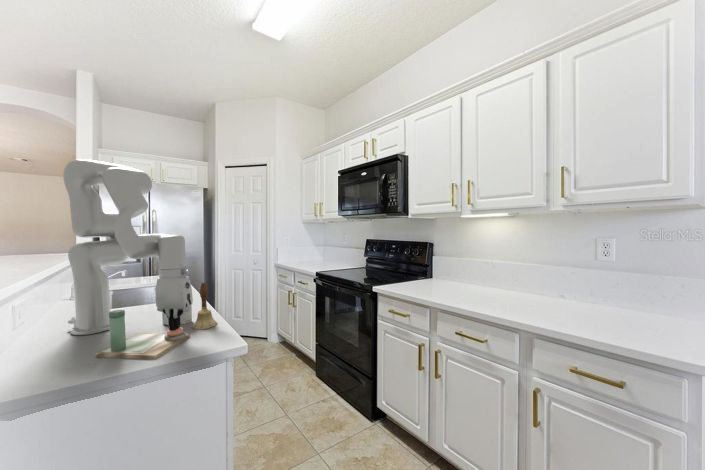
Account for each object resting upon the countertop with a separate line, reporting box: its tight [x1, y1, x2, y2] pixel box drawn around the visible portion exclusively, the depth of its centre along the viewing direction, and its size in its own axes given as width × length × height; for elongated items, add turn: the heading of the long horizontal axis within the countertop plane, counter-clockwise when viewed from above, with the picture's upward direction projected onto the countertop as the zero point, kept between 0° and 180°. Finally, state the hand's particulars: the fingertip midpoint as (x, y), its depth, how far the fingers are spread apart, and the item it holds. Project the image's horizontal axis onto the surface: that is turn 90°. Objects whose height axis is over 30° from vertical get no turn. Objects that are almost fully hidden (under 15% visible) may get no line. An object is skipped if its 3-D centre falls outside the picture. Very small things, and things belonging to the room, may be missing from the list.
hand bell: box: [192, 282, 218, 330], centre depth 113 cm, size 8×8×16 cm
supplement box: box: [161, 305, 193, 326], centre depth 116 cm, size 7×7×13 cm
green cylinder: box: [109, 309, 127, 352], centre depth 90 cm, size 4×4×11 cm
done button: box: [166, 326, 184, 336], centre depth 99 cm, size 5×5×1 cm
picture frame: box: [95, 330, 191, 360], centre depth 95 cm, size 18×16×2 cm
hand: (174, 328), depth 99 cm, fingers closed
